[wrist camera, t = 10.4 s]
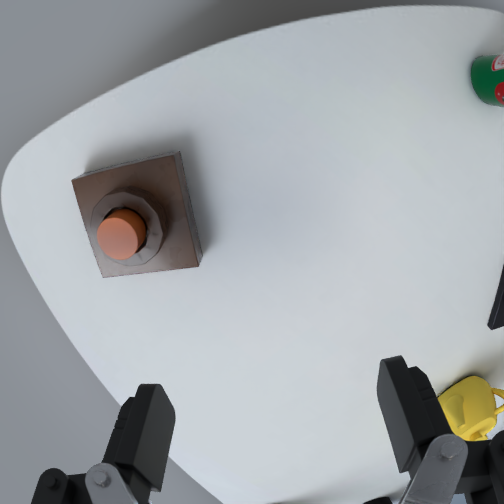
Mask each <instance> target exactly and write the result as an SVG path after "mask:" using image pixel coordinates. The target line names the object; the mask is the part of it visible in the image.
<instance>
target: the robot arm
mask: <svg viewBox="0 0 504 504" xmlns="http://www.w3.org/2000/svg"><path fill="white" fill-rule="evenodd" d="M377 397H378V401H379V405H380V408H381V411H382V414H383V417H384V421H385V424H386V427H387V431H388V434H389V437H390V441H391V444H392V448H393V451H394V455H395V458H396V462H397V465H398V469H399V473H403V472H406V471H409V475H410V478H411V479H410V481H409V483H408V485H407V487H406V489H405V491H404V493H403V495H402V497H401V499H400V501H399V503H398V504H450V503H451V500H452V498H453V495H454V494H462V493H464V494H465V498H466V502H467V504H504V430H502V431H500V432H498V433H497V434H496V435H495V436H494V437H493V439H491V440H481V441H466V440H463V439H462V438H461V437H459V436H457V435H455V434H454V433H453V431H452V429H451V428H450V425H449V423H448V421H447V418H446V416H445V414H444V412H443V409H442V407H441V405H440V403H439V401H438V398H437V397H436V394H435V392H434V390H433V388H432V386H431V383H430V381H429V379H428V377H427V375H426V374H425V373H424V372H423V371H421V370H420V369H419V368H418V367H417V366H415V367H411V368H408V367H407V365H406V363H405V360H404V358H403V357H402V356H401V355H400V356H395V357H391V358H386V359H382V360H381V361H380V368H379V375H378V382H377ZM174 425H175V410H174V407H173V406H172V404H171V402H170V400H169V398H168V396H167V395H166V393H165V391H164V389H163V387H162V386H161V385H160V384H140V385H139V387H138V389H137V392H136V395H135V397H129V398H128V400H127V401H126V402H125V403H124V404H123V406H122V407H121V409H120V412H119V415H118V420H116V423H115V426H114V427H115V429H113V432H112V434H111V437H110V440H109V443H108V446H107V449H106V452H105V455H104V458H103V460H102V462H101V463H99V464H96V465H94V466H93V467H91V468H90V469H89V471H88V472H87V473H85V474H76V475H66V474H65V473H64V472H62V471H61V470H60V469H57V468H51V469H48V470H46V471H45V472H43V474H42V475H41V476H40V478H39V481H38V484H37V487H36V490H35V493H34V496H33V499H32V502H31V504H152V502H151V500H150V499H149V496H150V491H155V492H161V488H162V483H163V478H164V473H165V468H166V463H167V458H168V453H169V449H170V444H171V439H172V434H173V430H174Z"/></svg>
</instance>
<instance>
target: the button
mask: <svg viewBox="0 0 504 504" xmlns="http://www.w3.org/2000/svg"><path fill="white" fill-rule="evenodd" d="M145 236H146V227H145V224H144V222H143V220H142V218H141V217H140V216H139V215H138V214H137V213H135V212H134V211H132V210H129V209H118V210H116V211H114V212H113V213H112V214H111V215H109V216H108V217H107V218H106V219H105V220H104V221H103V222H101V224H100V225H99V227H98V230H97V240H98V243H99V246H100V247H101V249H102V250H103V251H104V253H106V254H107V255H108V256H110V257H111V258H114V259H117V260H125V259H128V258H130V257H132V256H133V255H134V254H135V252H136V251H137V250H138V248H139V247H140V246H141V244H142V243H143V241H144V239H145Z"/></svg>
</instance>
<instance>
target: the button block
mask: <svg viewBox="0 0 504 504" xmlns="http://www.w3.org/2000/svg"><path fill="white" fill-rule="evenodd" d="M72 184H73V188H74V192H75V195H76V199H77V202H78V206H79V209H80V212H81V216H82V219H83V222H84V225H85V228H86V231H87V234H88V237H89V240H90V243H91V246H92V249H93V252H94V255H95V257H96V260H97V263H98V266H99V268H100V271H101V274H102V276H103V278H105V277H114V276H123V275H132V274H140V273H149V272H158V271H166V270H175V269H183V268H192V267H199V265H200V262H201V259H202V256H203V255H202V251H201V246H200V242H199V238H198V233H197V229H196V225H195V220H194V216H193V211H192V207H191V202H190V197H189V193H188V188H187V183H186V179H185V174H184V169H183V164H182V159H181V154H180V151H176V152H171V153H166V154H161V155H157V156H152V157H148V158H143V159H139V160H135V161H131V162H127V163H123V164H119V165H115V166H111V167H107V168H103V169H99V170H96V171H92V172H89V173H85V174H82V175H80V176H78V177H76V178H74V179H72ZM118 209H129V210H132V211H134V212H135V213H137V214H138V215H139V216H140V217H141V218H142V220H143V222H144V224H145V227H146V236H145V239H144V241H143V243H142V244H141V246H140V247H139V248H138V250H137V251H136V252H135V254H134V255H133V256H132V257H130V258H128V259H125V260H117V259H114V258H111V257H110V256H108V255H107V254H106V253H104V251H103V250H102V249H101V247H100V246H99V243H98V240H97V230H98V227H99V225H100V224H101V222H103V221H104V220H105V219H106V218H107V217H108V216H109V215H111V214H112V213H113V212H114V211H116V210H118Z"/></svg>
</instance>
